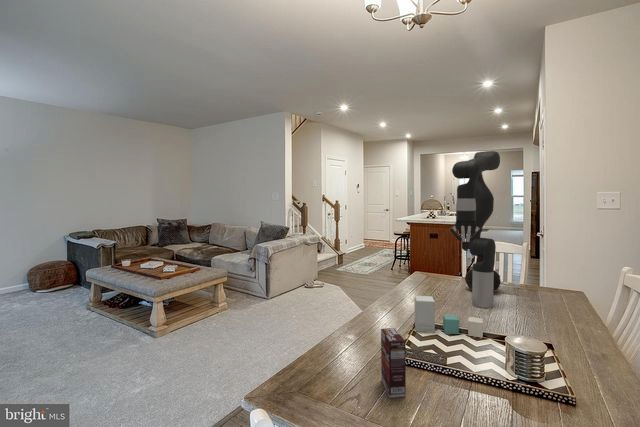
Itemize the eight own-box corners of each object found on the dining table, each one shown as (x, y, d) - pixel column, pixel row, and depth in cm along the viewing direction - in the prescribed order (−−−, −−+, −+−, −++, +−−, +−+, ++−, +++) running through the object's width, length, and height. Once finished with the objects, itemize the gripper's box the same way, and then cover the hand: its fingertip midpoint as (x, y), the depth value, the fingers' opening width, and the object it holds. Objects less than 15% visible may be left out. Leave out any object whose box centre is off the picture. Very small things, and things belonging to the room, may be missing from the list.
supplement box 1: (380, 380, 96) (380, 328, 96) (396, 379, 97) (396, 327, 96) (389, 398, 88) (388, 341, 87) (406, 397, 88) (406, 340, 87)
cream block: (468, 331, 130) (469, 316, 130) (482, 333, 128) (483, 318, 128) (468, 336, 126) (468, 321, 125) (482, 338, 123) (482, 323, 123)
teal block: (442, 329, 133) (442, 314, 132) (455, 329, 132) (455, 315, 132) (445, 334, 128) (445, 319, 127) (458, 335, 127) (459, 319, 127)
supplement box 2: (435, 333, 129) (435, 301, 128) (415, 331, 130) (415, 300, 130) (432, 325, 136) (432, 296, 135) (414, 324, 138) (414, 295, 137)
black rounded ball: (501, 297, 172) (502, 244, 170) (464, 293, 179) (465, 243, 178) (499, 288, 188) (500, 240, 186) (465, 285, 196) (465, 238, 194)
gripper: (482, 209, 138) (481, 249, 139) (448, 209, 142) (448, 248, 143) (484, 209, 131) (484, 252, 132) (449, 209, 135) (448, 251, 136)
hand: (465, 250), depth 137 cm, fingers closed
